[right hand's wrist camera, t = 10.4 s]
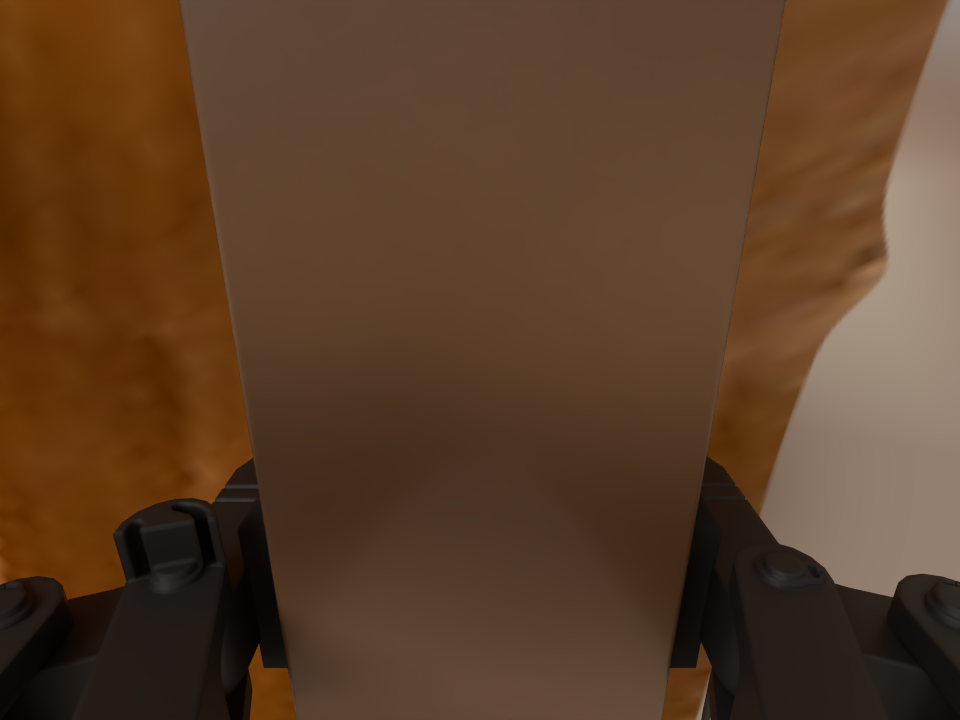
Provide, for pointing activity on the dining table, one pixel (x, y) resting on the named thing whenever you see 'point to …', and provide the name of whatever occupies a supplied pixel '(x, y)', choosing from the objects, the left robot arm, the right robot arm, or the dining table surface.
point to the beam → (480, 330)
